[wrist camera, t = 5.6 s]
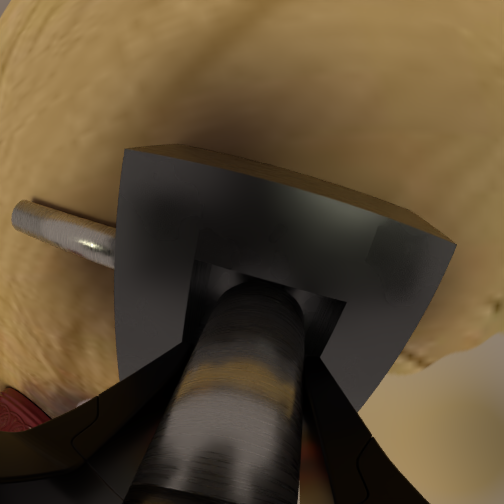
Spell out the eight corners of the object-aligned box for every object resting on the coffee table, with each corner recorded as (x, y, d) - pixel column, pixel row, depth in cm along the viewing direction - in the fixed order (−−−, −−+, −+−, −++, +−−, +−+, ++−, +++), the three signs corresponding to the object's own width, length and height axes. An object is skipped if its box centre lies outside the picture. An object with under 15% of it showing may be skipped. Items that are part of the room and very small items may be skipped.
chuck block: (411, 211, 11) (457, 244, 7) (328, 383, 15) (331, 442, 11) (37, 126, 11) (-19, 133, 8) (38, 283, 15) (-1, 312, 12)
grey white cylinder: (309, 285, 9) (304, 562, 2) (298, 359, 10) (279, 572, 3) (212, 277, 10) (82, 507, 2) (215, 350, 11) (140, 544, 4)
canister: (53, 446, 29) (8, 518, 13) (-3, 386, 26) (-61, 456, 10) (92, 454, 26) (40, 550, 9) (20, 381, 22) (-56, 477, 6)
